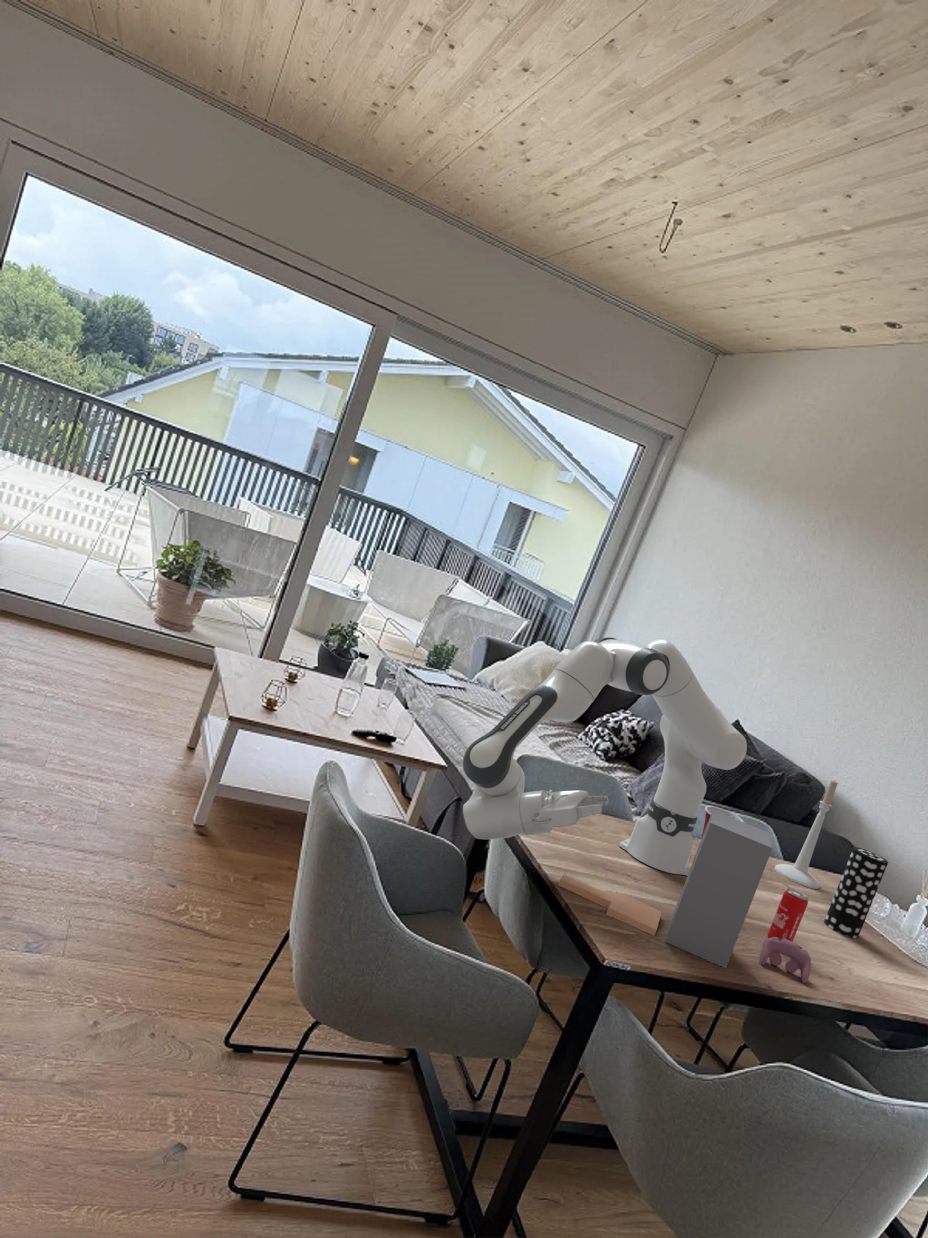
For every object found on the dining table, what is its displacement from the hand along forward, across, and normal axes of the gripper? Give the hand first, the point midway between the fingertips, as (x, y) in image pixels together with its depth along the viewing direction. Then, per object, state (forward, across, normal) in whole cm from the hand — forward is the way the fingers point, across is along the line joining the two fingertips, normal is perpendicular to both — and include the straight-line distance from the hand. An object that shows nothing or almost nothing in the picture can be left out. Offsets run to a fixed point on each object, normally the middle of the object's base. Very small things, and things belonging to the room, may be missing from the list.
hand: (604, 804), depth 194 cm
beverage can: (+28, +22, +38) cm, 52 cm away
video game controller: (+28, +7, +38) cm, 48 cm away
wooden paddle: (-3, 0, +20) cm, 20 cm away
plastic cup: (+13, +78, +30) cm, 84 cm away
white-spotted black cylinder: (+42, +56, +47) cm, 85 cm away
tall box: (+13, 0, +30) cm, 32 cm away
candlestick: (+35, +92, +42) cm, 107 cm away
